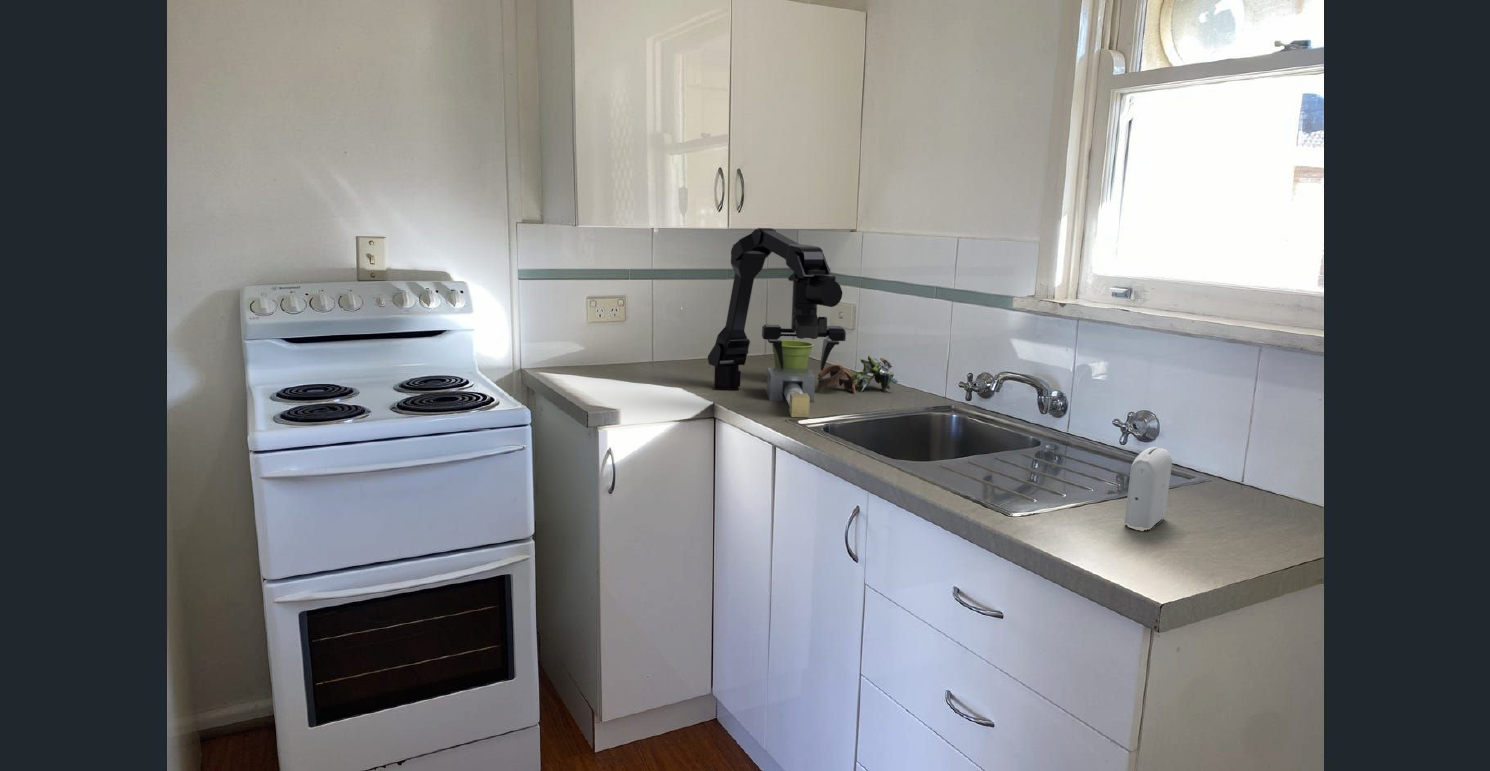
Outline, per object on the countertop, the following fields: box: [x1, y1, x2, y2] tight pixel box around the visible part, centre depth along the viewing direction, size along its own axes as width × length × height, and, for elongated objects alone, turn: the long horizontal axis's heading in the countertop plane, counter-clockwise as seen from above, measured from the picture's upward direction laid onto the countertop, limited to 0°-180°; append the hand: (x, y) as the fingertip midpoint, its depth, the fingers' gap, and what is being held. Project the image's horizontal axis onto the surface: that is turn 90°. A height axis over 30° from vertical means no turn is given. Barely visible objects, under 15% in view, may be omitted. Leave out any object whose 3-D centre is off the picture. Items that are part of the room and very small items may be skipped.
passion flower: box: [847, 355, 898, 393], centre depth 245 cm, size 11×11×12 cm
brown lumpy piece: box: [817, 364, 857, 395], centre depth 243 cm, size 12×9×8 cm
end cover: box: [783, 383, 811, 418], centre depth 219 cm, size 18×4×5 cm, turn 3°
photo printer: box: [1124, 446, 1173, 528], centre depth 146 cm, size 10×4×12 cm, turn 140°
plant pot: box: [770, 339, 815, 369], centre depth 250 cm, size 12×12×11 cm
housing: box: [766, 367, 816, 403], centre depth 234 cm, size 11×11×6 cm
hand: (801, 369), depth 211 cm, fingers open, 9 cm apart
